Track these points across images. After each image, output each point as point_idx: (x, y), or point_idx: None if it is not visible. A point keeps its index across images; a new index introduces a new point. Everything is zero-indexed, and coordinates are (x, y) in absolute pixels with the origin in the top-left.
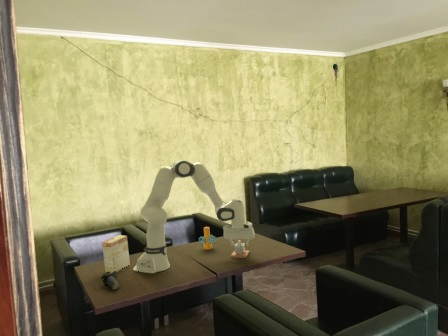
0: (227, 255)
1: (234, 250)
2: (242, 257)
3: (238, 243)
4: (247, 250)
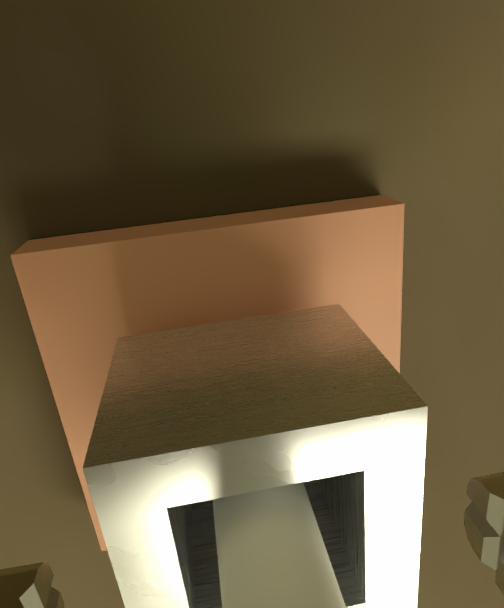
0: (478, 298)
1: None
2: (119, 232)
3: (313, 572)
4: None
